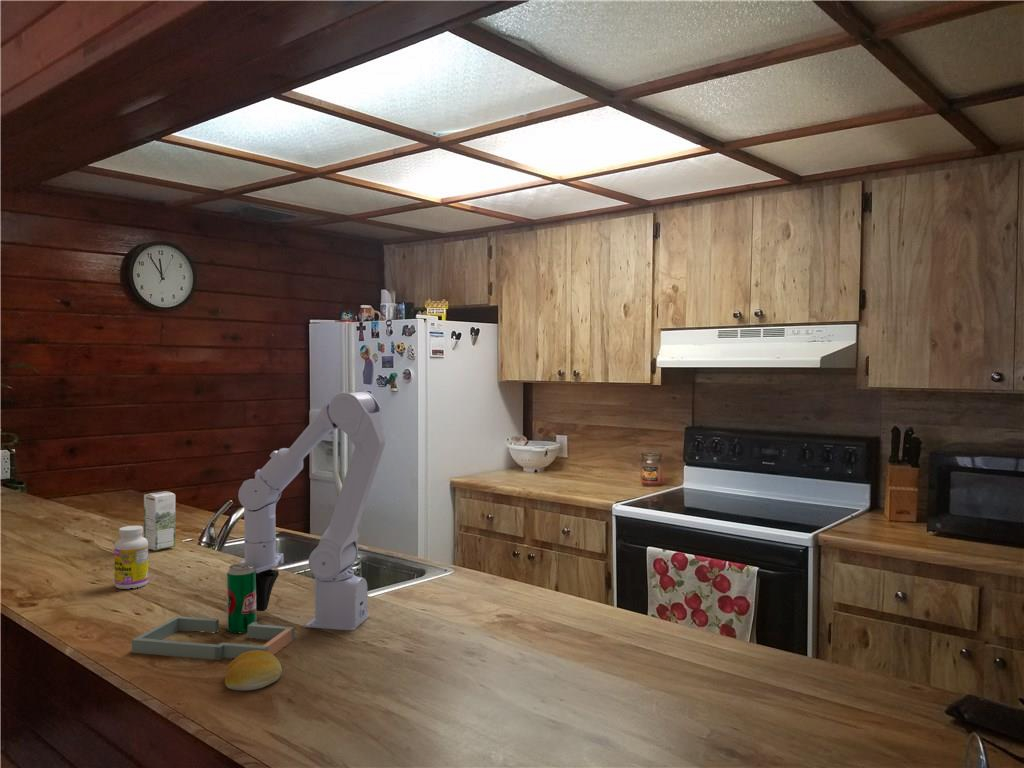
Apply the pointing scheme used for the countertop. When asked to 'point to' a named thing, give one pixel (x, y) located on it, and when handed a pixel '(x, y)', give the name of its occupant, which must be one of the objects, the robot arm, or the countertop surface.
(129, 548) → the supplement bottle
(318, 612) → the robot arm
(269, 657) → the bread roll
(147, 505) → the syrup box
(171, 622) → the corral
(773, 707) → the countertop surface
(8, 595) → the countertop surface
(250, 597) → the soda can
